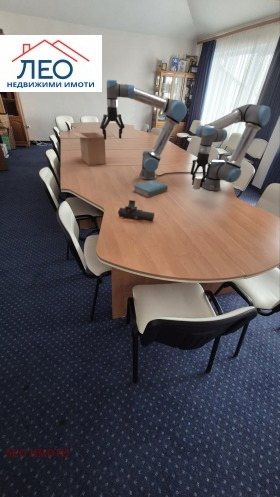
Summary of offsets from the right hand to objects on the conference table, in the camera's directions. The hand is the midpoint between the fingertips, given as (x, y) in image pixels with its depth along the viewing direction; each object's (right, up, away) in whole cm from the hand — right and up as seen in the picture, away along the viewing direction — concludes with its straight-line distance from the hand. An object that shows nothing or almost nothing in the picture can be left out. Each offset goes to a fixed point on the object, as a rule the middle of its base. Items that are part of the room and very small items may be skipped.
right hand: (196, 185), depth 162 cm
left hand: (-63, +40, +10) cm, 75 cm away
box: (-92, +47, +74) cm, 127 cm away
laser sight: (-45, -28, -22) cm, 57 cm away
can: (0, -2, +1) cm, 2 cm away
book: (-34, 0, +16) cm, 37 cm away
